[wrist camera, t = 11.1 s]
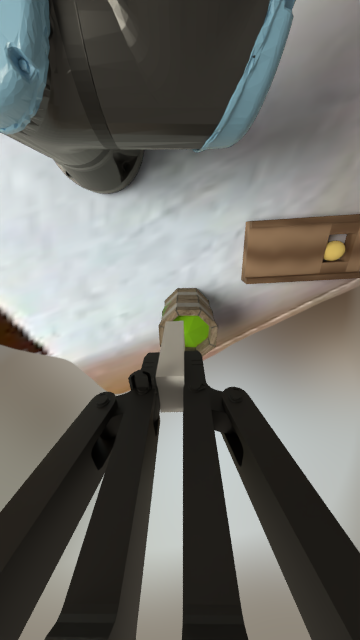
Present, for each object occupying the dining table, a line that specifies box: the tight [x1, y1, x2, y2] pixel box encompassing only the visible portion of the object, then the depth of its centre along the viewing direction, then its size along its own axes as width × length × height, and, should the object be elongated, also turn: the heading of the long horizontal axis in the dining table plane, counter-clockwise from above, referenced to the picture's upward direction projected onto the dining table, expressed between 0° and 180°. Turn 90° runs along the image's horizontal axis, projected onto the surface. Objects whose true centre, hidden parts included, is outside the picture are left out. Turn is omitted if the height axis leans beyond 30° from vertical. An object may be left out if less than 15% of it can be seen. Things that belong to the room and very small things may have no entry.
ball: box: [323, 241, 345, 261], centre depth 36 cm, size 4×4×4 cm
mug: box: [159, 288, 218, 357], centre depth 40 cm, size 16×11×12 cm
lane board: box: [241, 214, 360, 284], centre depth 36 cm, size 11×22×4 cm, turn 93°
